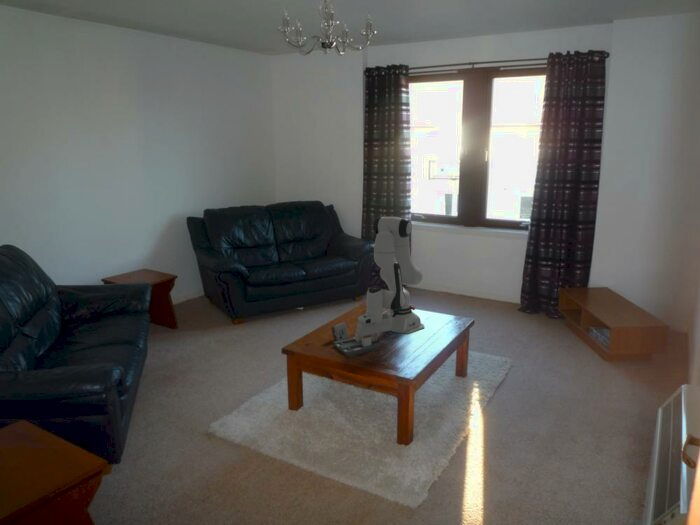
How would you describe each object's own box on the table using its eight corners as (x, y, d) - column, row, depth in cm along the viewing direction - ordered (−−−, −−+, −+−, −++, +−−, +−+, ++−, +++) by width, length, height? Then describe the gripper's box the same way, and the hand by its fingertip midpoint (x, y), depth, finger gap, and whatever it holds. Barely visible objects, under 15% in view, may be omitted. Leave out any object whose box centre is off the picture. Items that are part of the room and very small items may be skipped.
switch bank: (365, 339, 291) (365, 334, 291) (380, 349, 278) (380, 344, 277) (333, 346, 282) (333, 341, 281) (348, 356, 268) (348, 351, 268)
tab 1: (361, 338, 287) (361, 329, 286) (364, 340, 284) (364, 331, 283) (355, 340, 285) (355, 330, 284) (357, 342, 282) (357, 332, 281)
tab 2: (368, 344, 280) (368, 334, 279) (371, 346, 277) (371, 336, 276) (361, 345, 278) (361, 335, 277) (364, 347, 276) (364, 337, 274)
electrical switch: (338, 342, 286) (337, 326, 285) (331, 341, 290) (330, 325, 288) (348, 338, 293) (347, 322, 292) (341, 336, 297) (340, 321, 295)
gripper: (387, 312, 284) (386, 335, 287) (355, 318, 274) (354, 342, 277) (393, 315, 279) (393, 339, 282) (361, 321, 269) (361, 346, 272)
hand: (373, 340), depth 279 cm, fingers closed
